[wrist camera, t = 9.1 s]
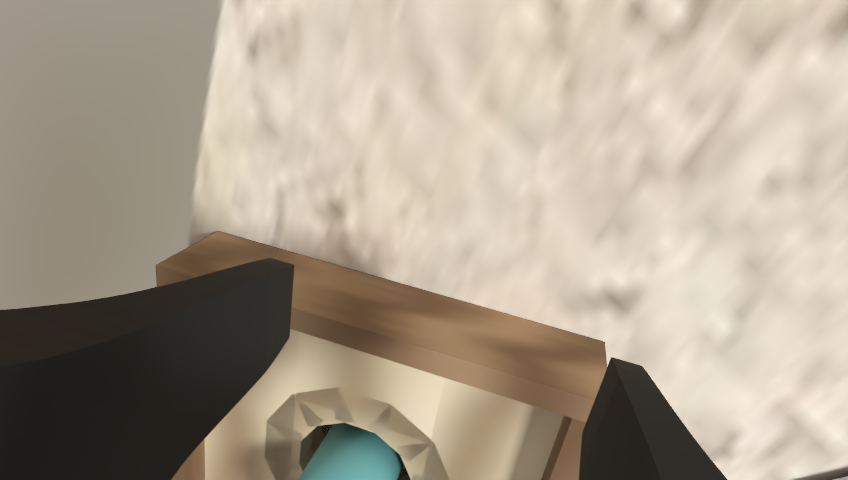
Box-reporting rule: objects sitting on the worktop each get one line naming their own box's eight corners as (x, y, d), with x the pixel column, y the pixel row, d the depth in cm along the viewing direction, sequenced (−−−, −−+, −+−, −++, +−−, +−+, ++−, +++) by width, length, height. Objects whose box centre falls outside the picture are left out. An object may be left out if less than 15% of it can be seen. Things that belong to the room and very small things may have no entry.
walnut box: (604, 342, 21) (610, 405, 17) (504, 608, 28) (494, 692, 25) (217, 231, 24) (155, 265, 21) (218, 496, 32) (172, 555, 28)
